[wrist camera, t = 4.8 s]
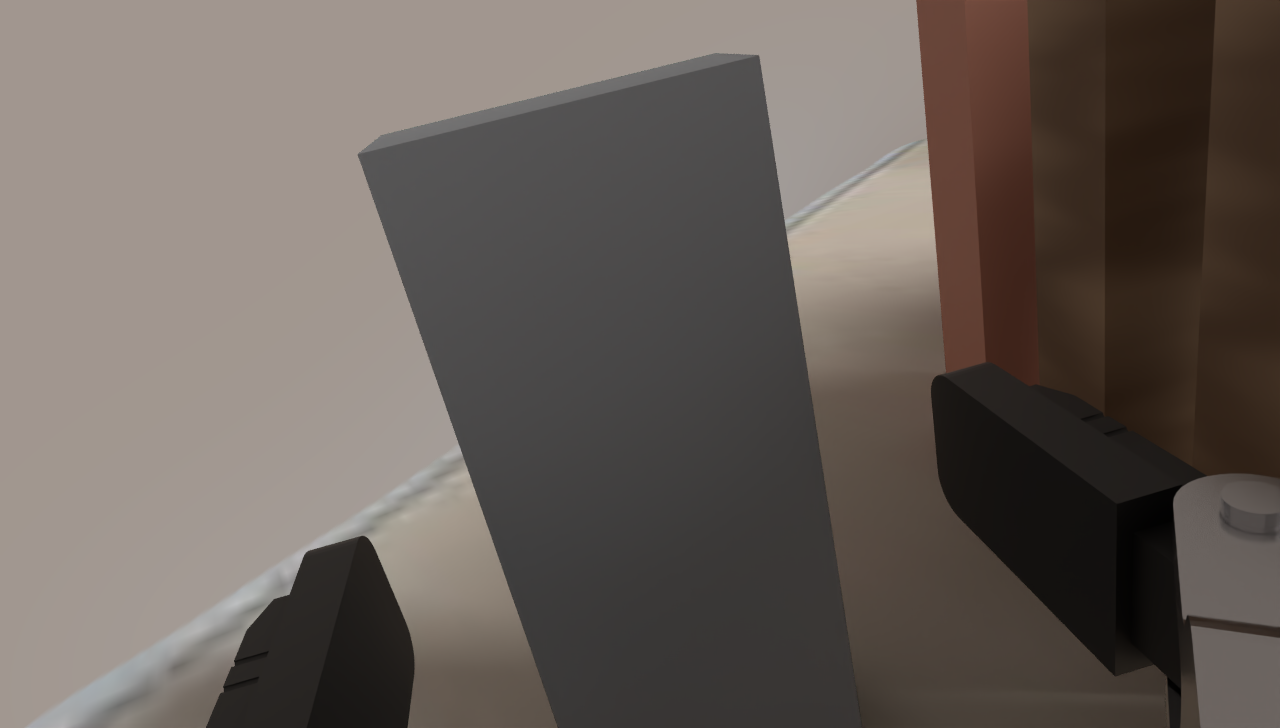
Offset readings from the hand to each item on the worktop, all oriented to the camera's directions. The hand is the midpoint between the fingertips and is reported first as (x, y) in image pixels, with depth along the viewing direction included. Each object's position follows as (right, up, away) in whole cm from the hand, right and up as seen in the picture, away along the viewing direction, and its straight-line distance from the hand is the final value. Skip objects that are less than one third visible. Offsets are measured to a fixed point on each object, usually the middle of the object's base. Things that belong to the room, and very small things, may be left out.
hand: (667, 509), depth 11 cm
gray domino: (+1, -5, +4) cm, 7 cm away
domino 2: (+12, -1, +8) cm, 14 cm away
